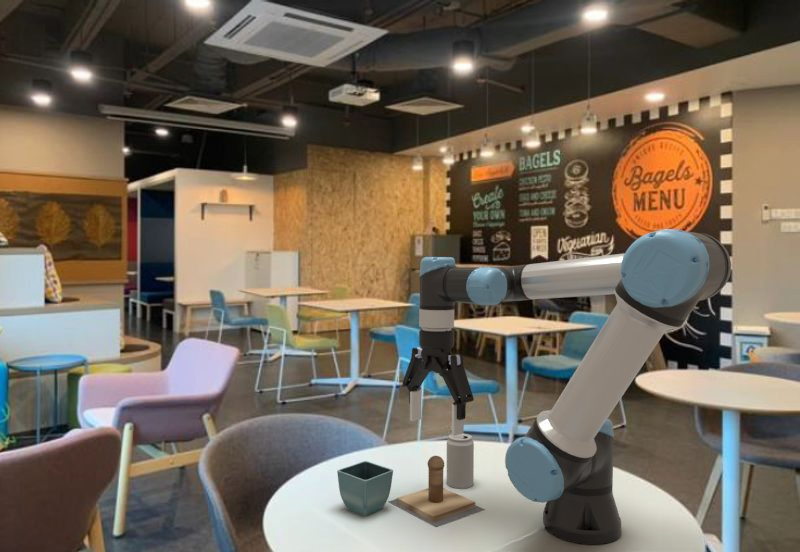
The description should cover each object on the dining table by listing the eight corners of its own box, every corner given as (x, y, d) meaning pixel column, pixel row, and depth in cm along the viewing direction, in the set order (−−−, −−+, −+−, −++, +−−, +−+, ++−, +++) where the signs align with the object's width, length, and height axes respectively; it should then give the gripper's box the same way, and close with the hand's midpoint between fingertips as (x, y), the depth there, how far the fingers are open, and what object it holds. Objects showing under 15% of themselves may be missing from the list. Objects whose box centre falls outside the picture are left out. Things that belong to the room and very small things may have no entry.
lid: (475, 507, 131) (475, 457, 130) (433, 522, 123) (433, 469, 123) (437, 490, 140) (438, 444, 140) (396, 503, 133) (397, 454, 132)
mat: (485, 512, 130) (485, 509, 130) (436, 530, 121) (436, 527, 121) (435, 489, 142) (435, 486, 142) (387, 504, 134) (387, 501, 134)
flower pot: (394, 510, 130) (394, 469, 130) (365, 524, 124) (365, 480, 123) (365, 499, 136) (365, 460, 136) (335, 512, 129) (336, 470, 129)
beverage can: (472, 492, 141) (472, 441, 140) (444, 490, 142) (445, 439, 141) (474, 482, 147) (474, 433, 146) (448, 480, 148) (448, 431, 148)
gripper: (491, 333, 123) (490, 437, 124) (413, 322, 143) (412, 412, 143) (465, 336, 118) (463, 444, 119) (387, 324, 138) (387, 417, 139)
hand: (435, 426), depth 131 cm, fingers open, 13 cm apart
